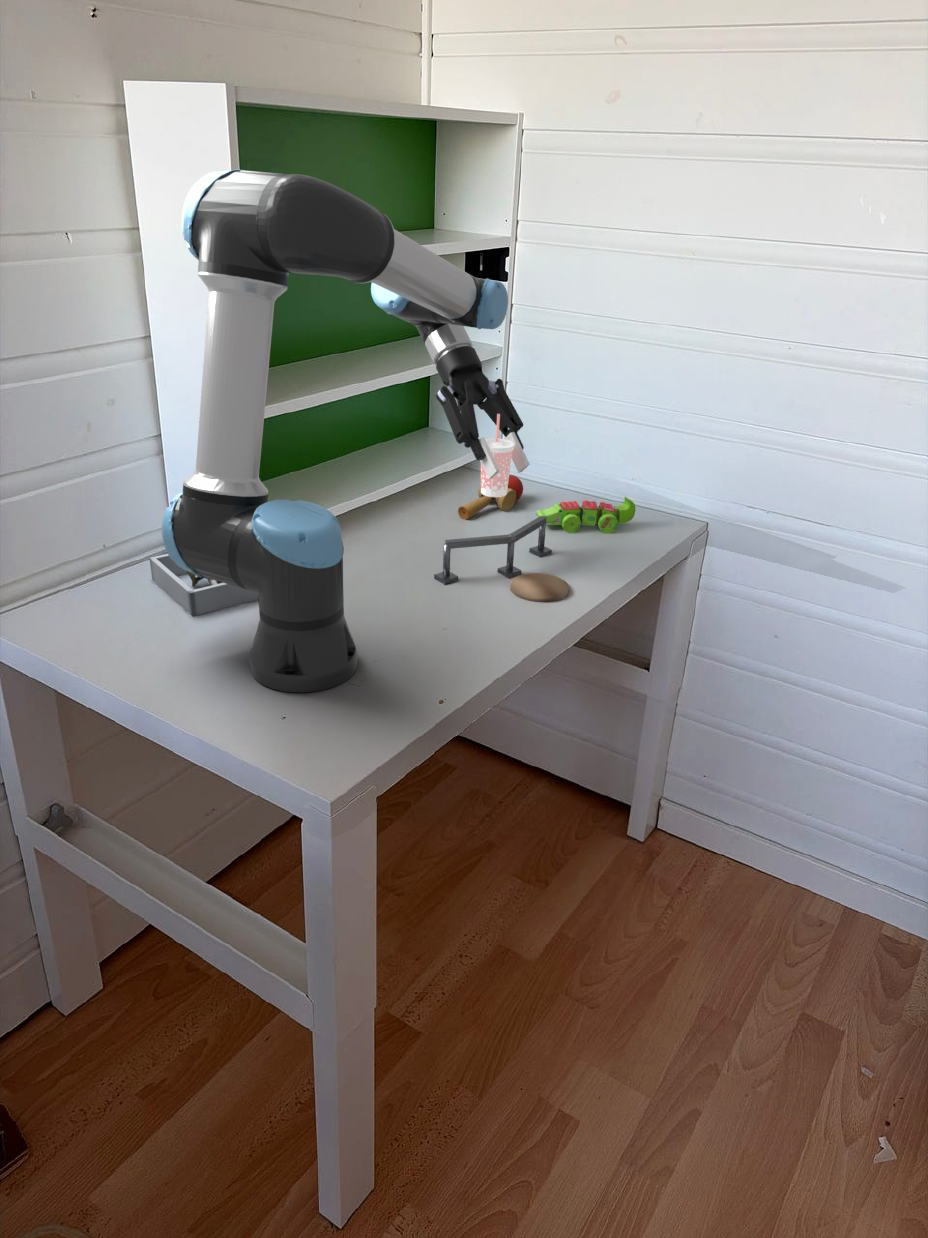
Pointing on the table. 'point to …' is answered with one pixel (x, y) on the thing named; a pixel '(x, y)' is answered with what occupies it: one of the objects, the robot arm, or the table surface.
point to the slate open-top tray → (196, 599)
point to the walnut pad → (539, 587)
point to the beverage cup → (502, 457)
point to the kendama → (494, 499)
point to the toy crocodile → (588, 515)
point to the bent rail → (509, 539)
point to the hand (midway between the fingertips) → (509, 471)
